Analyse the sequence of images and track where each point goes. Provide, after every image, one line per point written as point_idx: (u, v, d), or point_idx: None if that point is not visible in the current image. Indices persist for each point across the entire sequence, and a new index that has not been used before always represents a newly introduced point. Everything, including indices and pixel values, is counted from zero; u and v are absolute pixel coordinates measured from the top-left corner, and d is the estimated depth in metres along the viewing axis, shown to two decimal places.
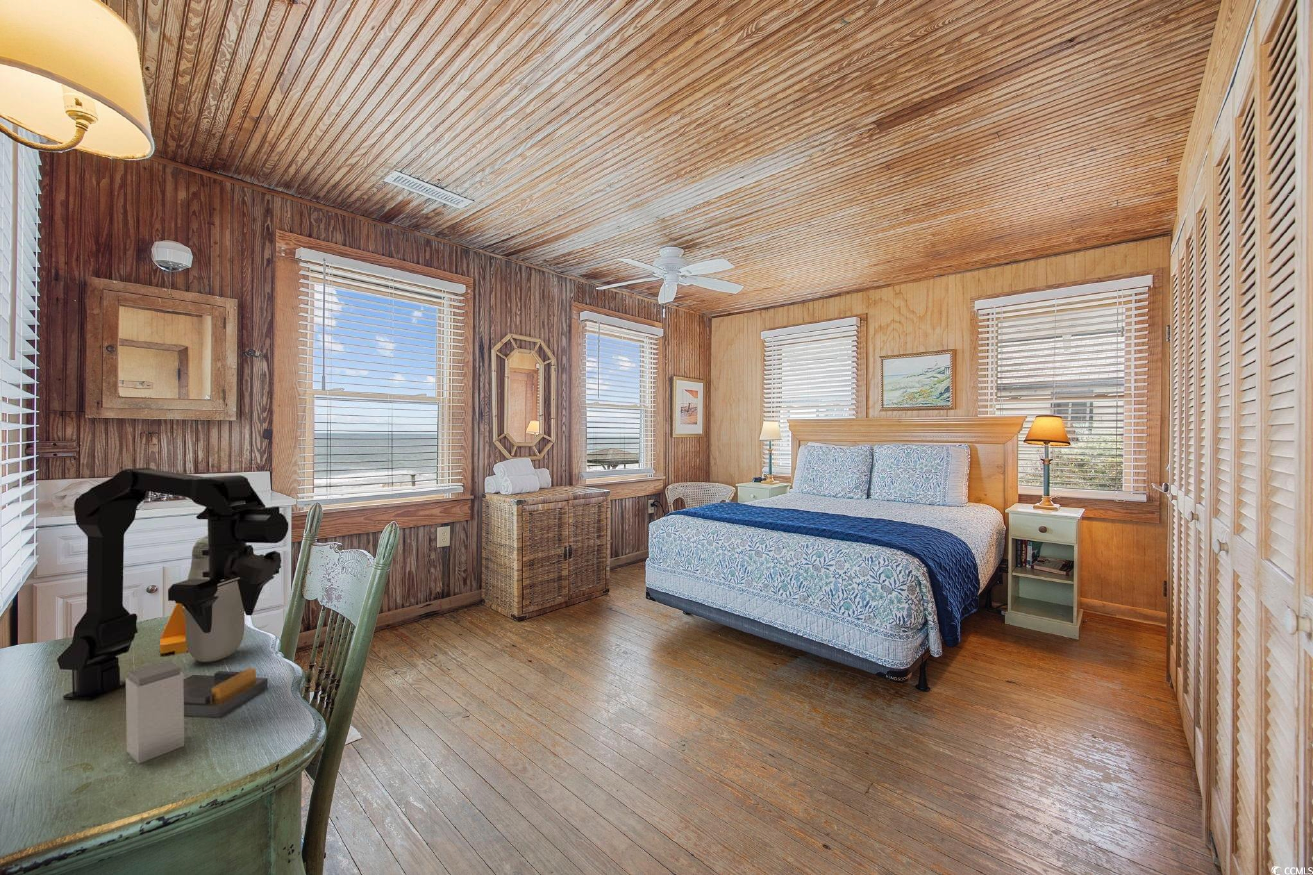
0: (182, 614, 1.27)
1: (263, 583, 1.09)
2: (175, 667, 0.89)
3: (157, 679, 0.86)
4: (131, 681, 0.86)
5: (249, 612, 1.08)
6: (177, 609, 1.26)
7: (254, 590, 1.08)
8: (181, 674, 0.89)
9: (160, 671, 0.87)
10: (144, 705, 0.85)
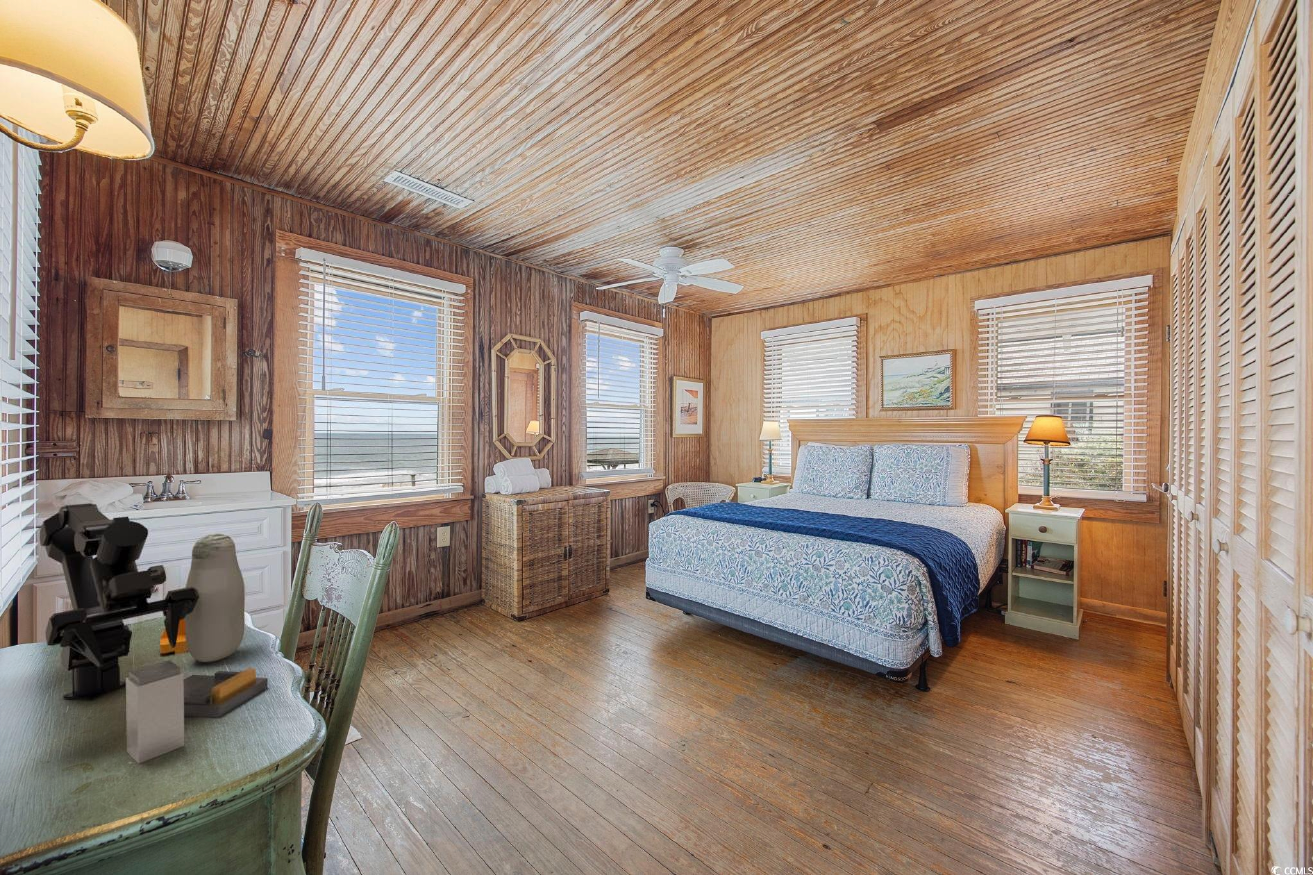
0: None
1: (175, 608, 0.98)
2: (175, 667, 0.89)
3: (157, 679, 0.86)
4: (131, 681, 0.86)
5: (172, 643, 0.96)
6: None
7: (170, 619, 0.98)
8: (181, 674, 0.89)
9: (160, 671, 0.87)
10: (144, 705, 0.85)
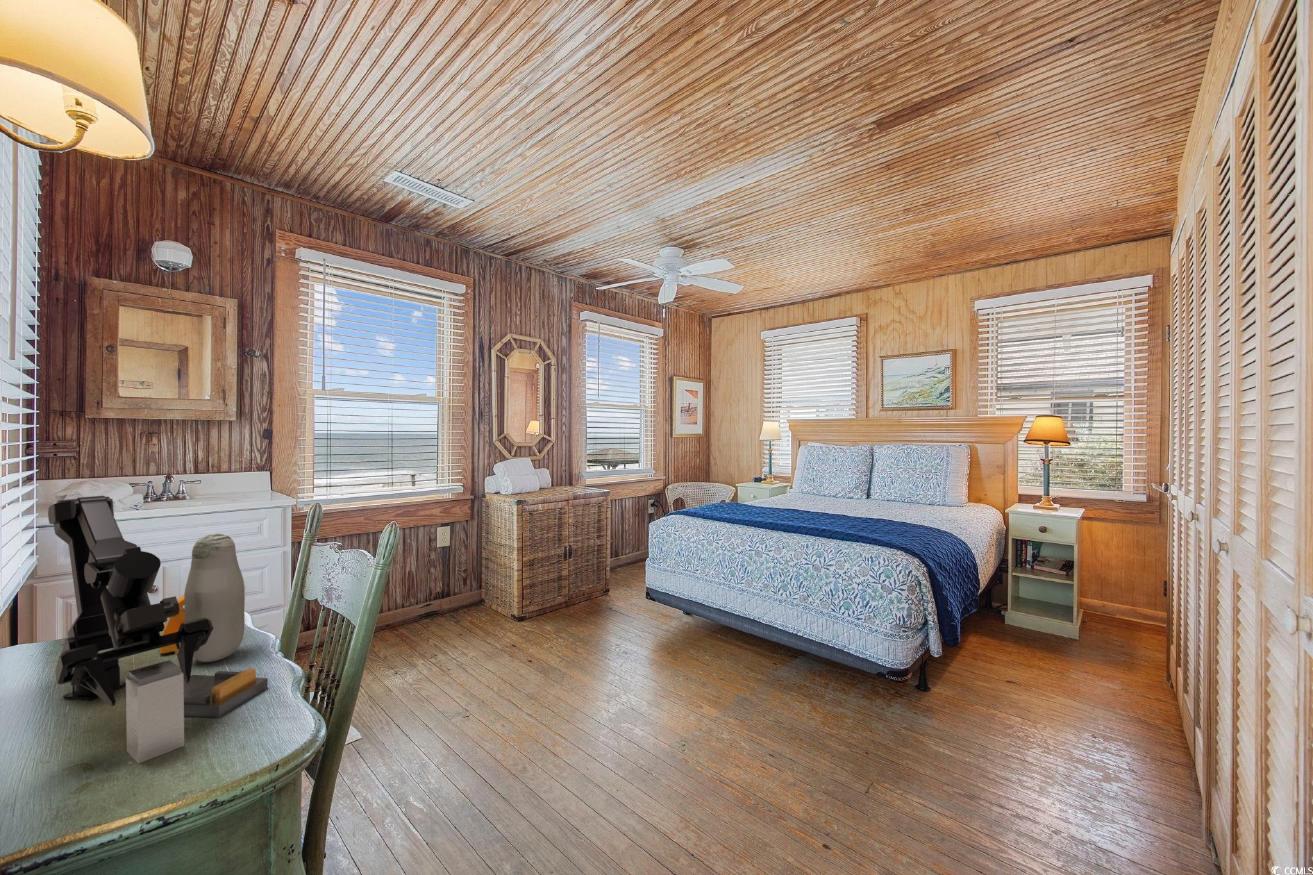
0: (182, 614, 1.27)
1: (189, 641, 0.95)
2: (175, 667, 0.89)
3: (157, 679, 0.86)
4: (131, 681, 0.86)
5: (186, 677, 0.92)
6: None
7: (183, 652, 0.94)
8: (181, 674, 0.89)
9: (160, 671, 0.87)
10: (144, 705, 0.85)
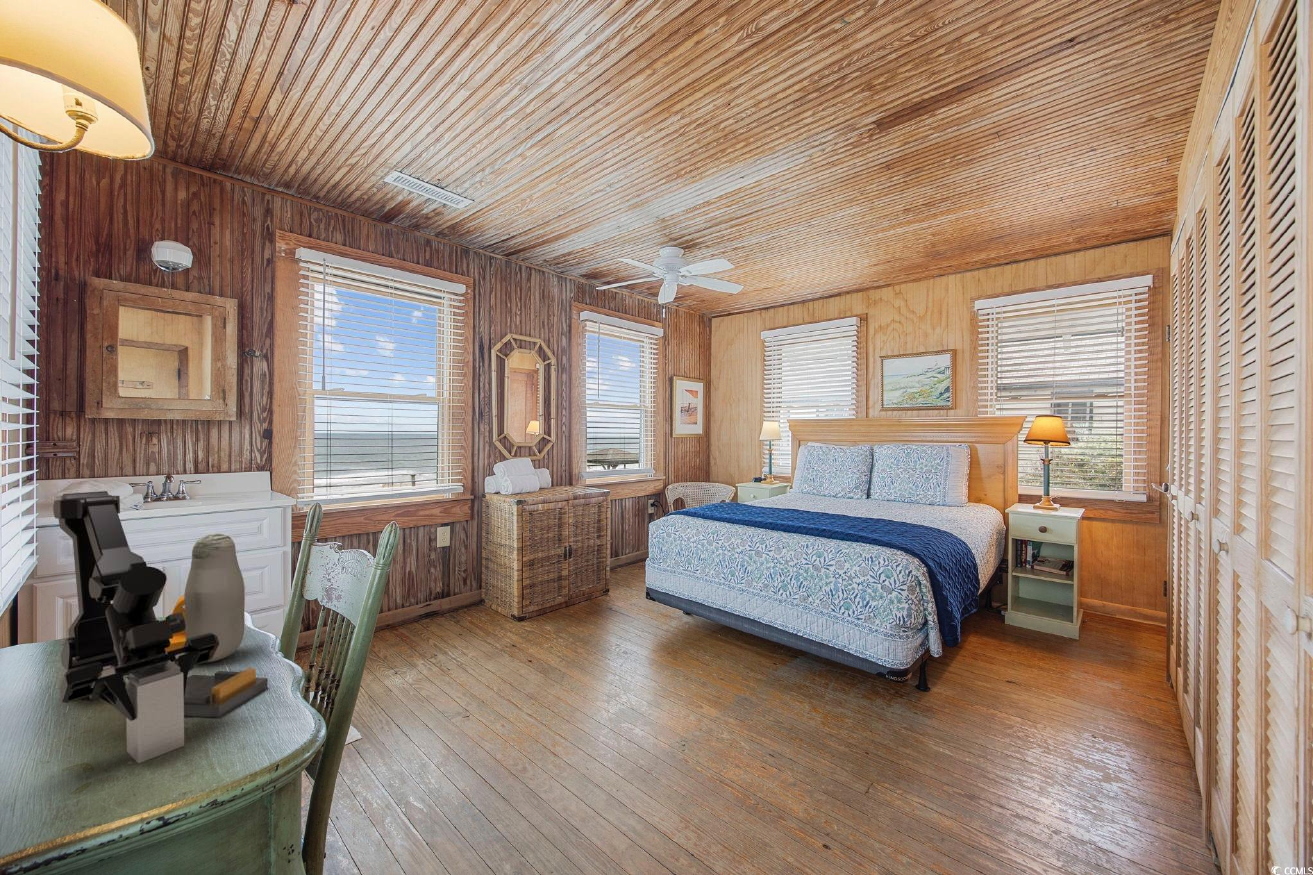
0: None
1: (183, 661, 0.92)
2: (175, 667, 0.89)
3: (157, 679, 0.86)
4: (131, 681, 0.86)
5: None
6: (177, 609, 1.26)
7: None
8: (181, 674, 0.89)
9: (160, 671, 0.87)
10: (144, 705, 0.85)
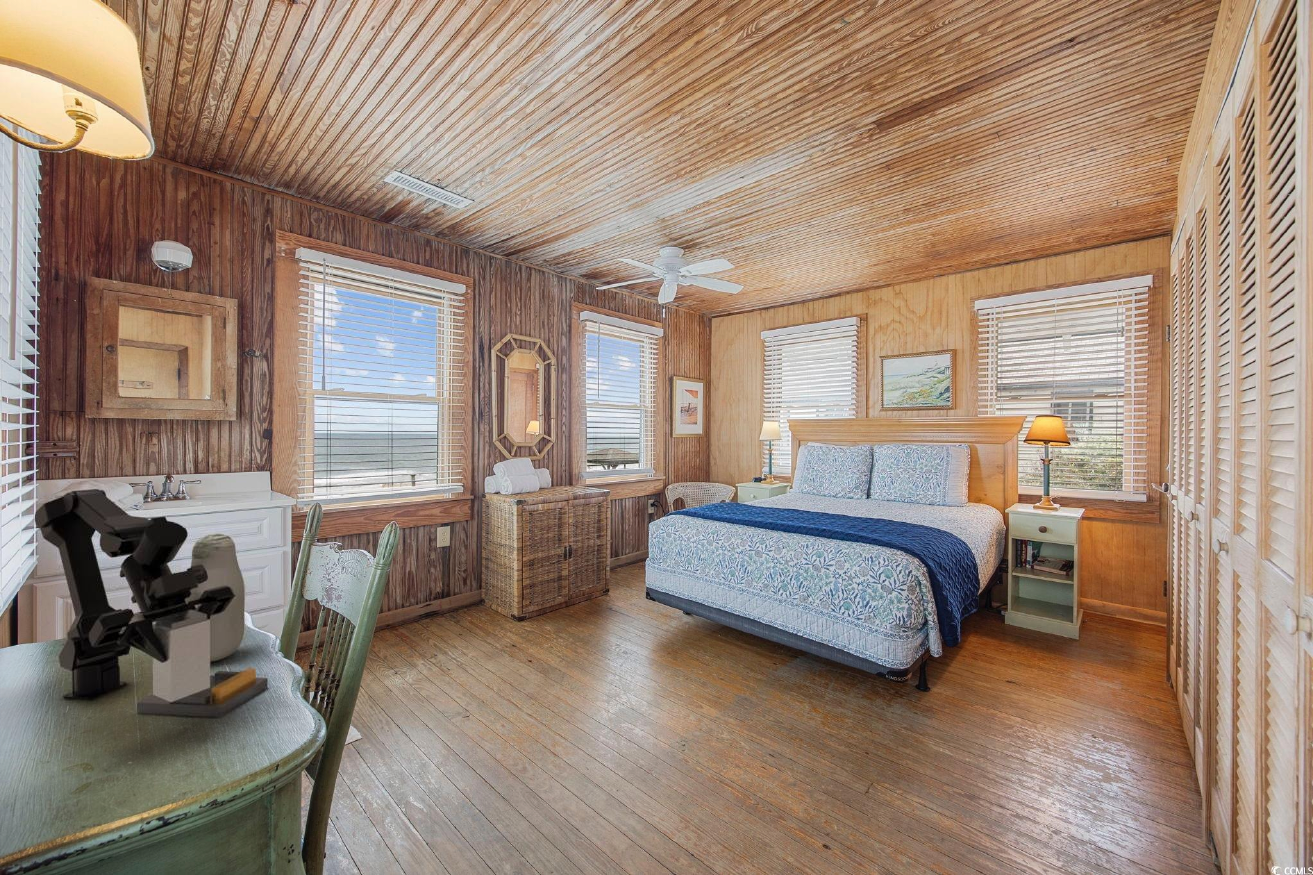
0: None
1: (204, 610, 0.98)
2: (202, 614, 0.94)
3: (187, 624, 0.92)
4: (160, 627, 0.91)
5: None
6: None
7: None
8: (208, 620, 0.94)
9: (189, 617, 0.93)
10: (176, 648, 0.90)
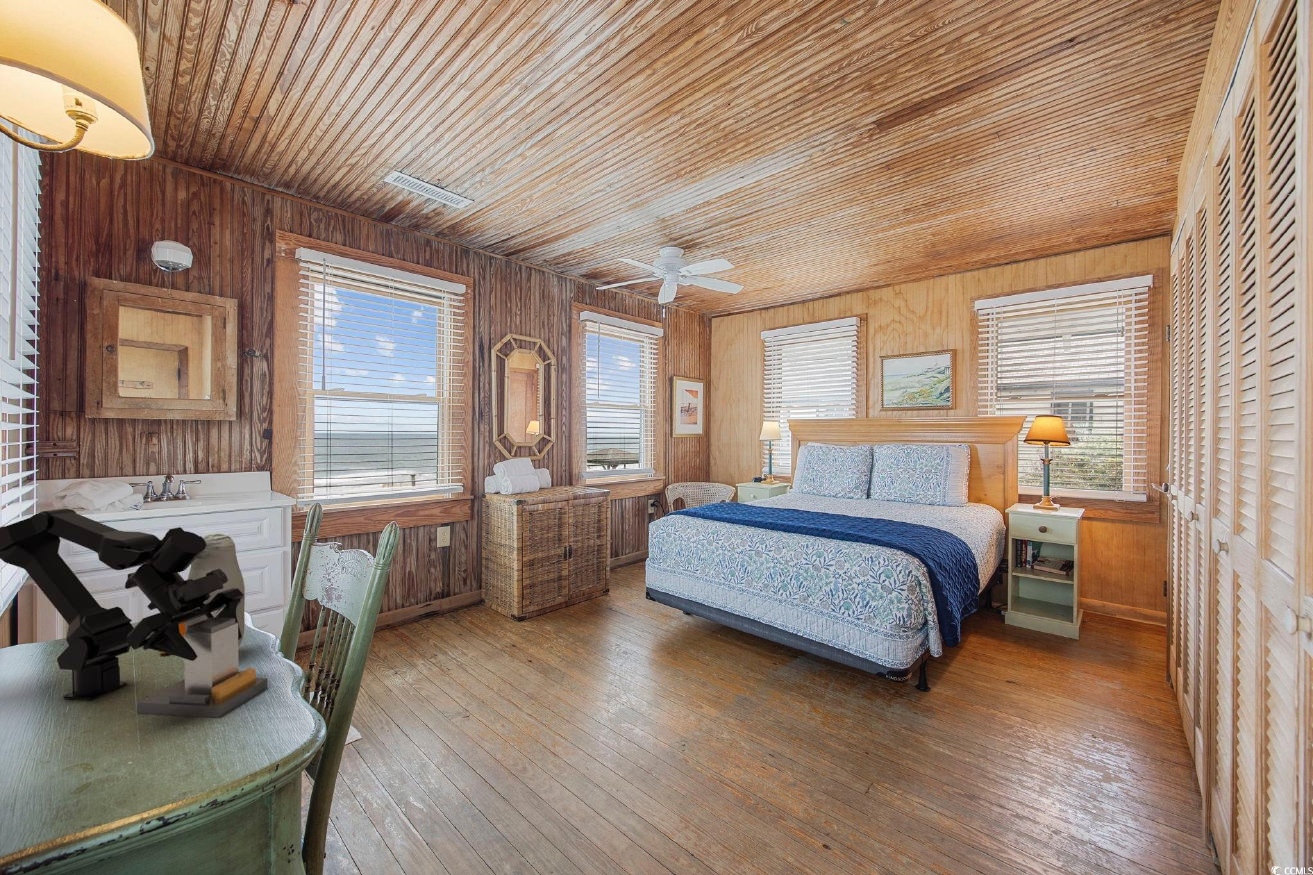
0: None
1: (231, 607, 1.09)
2: (230, 618, 1.05)
3: (222, 628, 1.02)
4: (196, 632, 1.00)
5: None
6: None
7: (228, 617, 1.08)
8: (236, 624, 1.05)
9: (221, 622, 1.03)
10: (215, 649, 1.01)
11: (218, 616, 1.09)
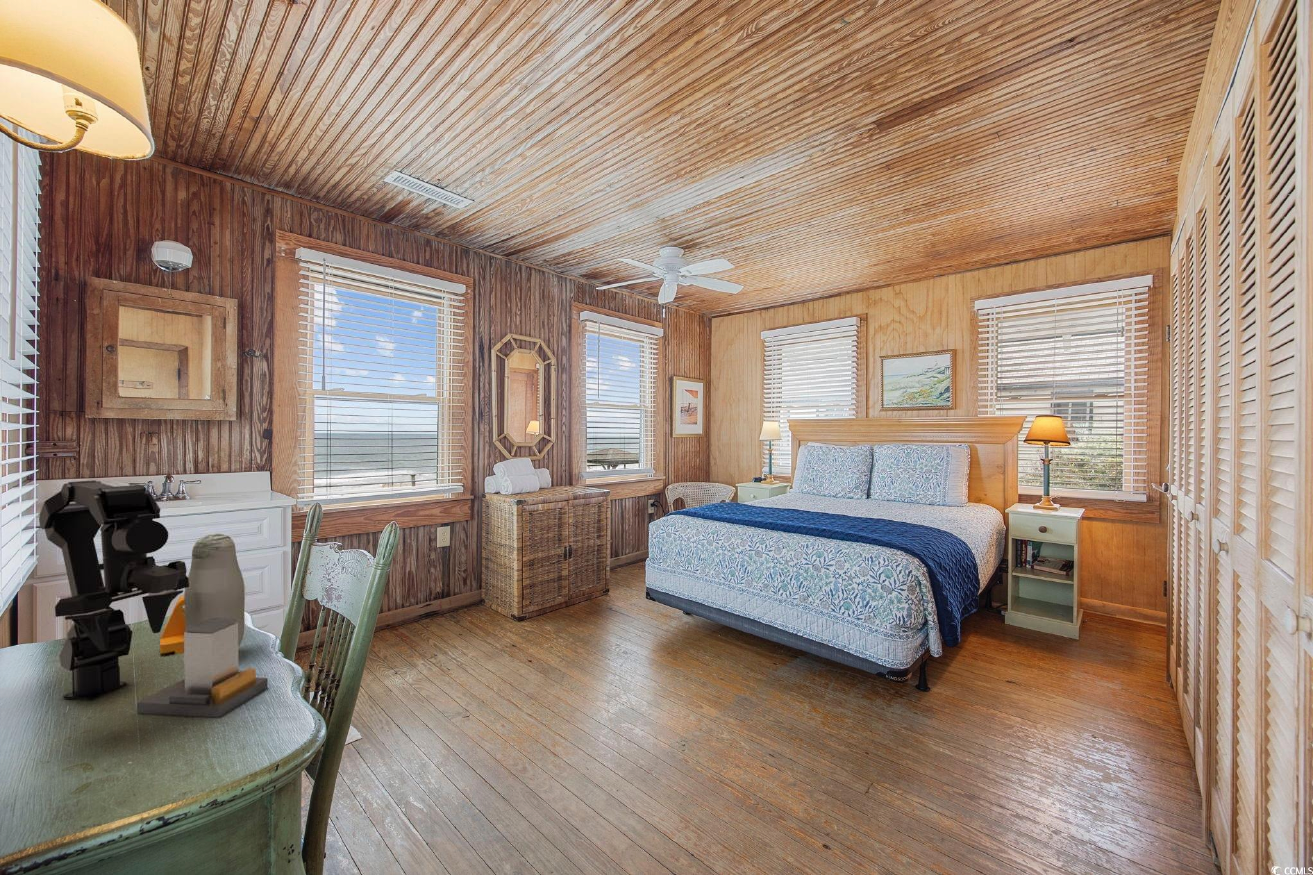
0: (182, 614, 1.27)
1: (170, 597, 1.04)
2: (230, 618, 1.05)
3: (222, 628, 1.02)
4: (196, 632, 1.00)
5: (156, 629, 1.02)
6: (177, 609, 1.26)
7: (161, 606, 1.03)
8: (236, 624, 1.05)
9: (221, 622, 1.03)
10: (215, 649, 1.01)
11: (152, 597, 1.03)
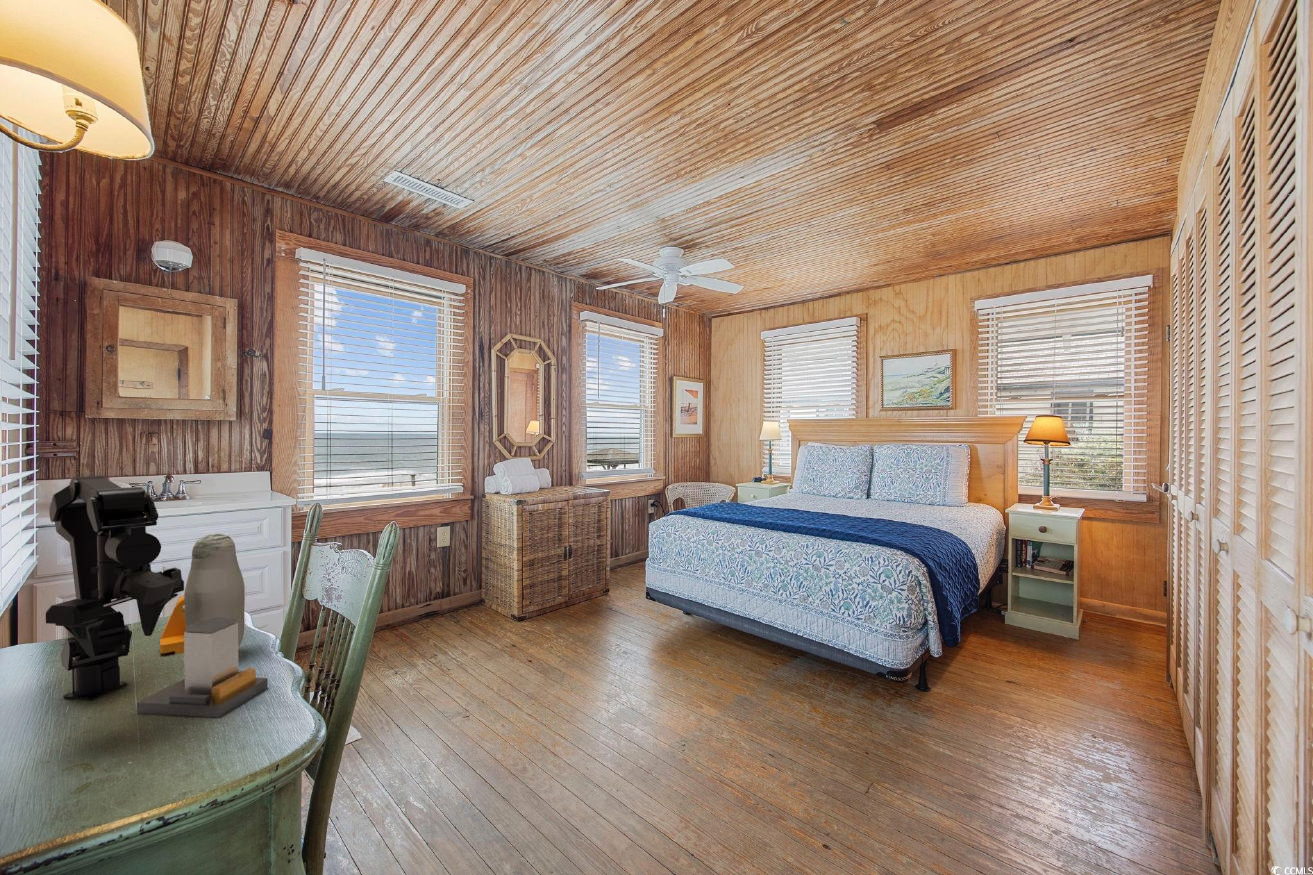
0: (182, 614, 1.27)
1: (164, 601, 1.02)
2: (230, 618, 1.05)
3: (222, 628, 1.02)
4: (196, 632, 1.00)
5: (148, 632, 1.01)
6: (177, 609, 1.26)
7: (154, 609, 1.02)
8: (236, 624, 1.05)
9: (221, 622, 1.03)
10: (215, 649, 1.01)
11: None
